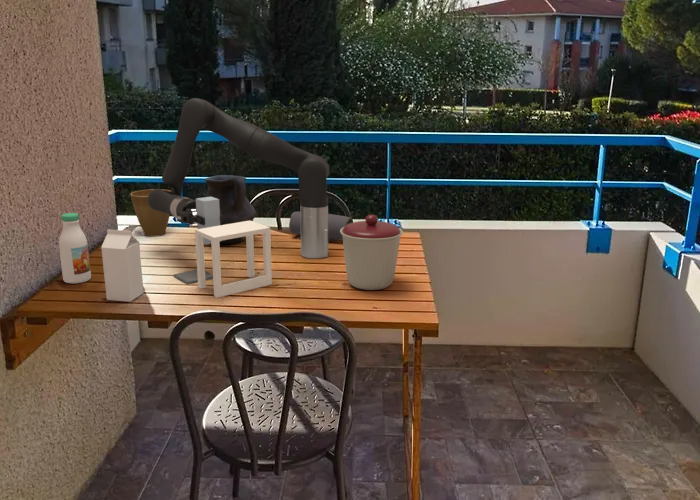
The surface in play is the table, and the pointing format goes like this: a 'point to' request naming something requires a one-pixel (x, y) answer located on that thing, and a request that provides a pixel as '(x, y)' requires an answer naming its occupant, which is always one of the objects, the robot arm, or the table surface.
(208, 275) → the mat
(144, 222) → the plant pot
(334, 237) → the bluetooth speaker
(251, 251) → the rack
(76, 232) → the milk bottle
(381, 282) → the canister
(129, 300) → the milk carton
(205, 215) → the blank
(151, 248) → the table surface
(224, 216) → the pitcher
